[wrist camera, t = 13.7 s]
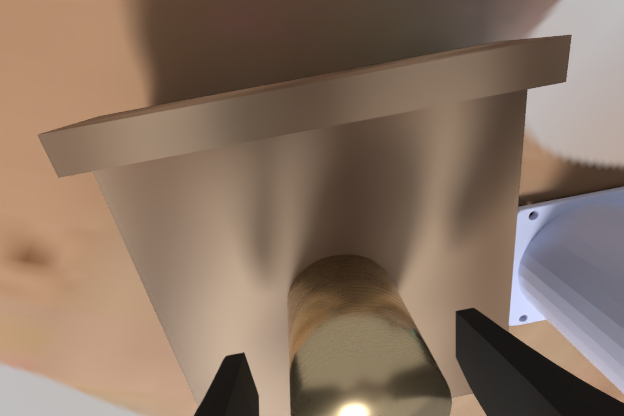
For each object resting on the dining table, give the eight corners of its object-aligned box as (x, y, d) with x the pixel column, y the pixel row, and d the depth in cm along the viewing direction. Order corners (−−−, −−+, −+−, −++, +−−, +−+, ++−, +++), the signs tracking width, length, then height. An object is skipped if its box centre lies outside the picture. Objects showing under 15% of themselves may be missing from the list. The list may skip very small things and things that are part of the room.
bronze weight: (400, 252, 13) (464, 348, 9) (389, 341, 15) (439, 463, 10) (286, 256, 13) (289, 358, 8) (288, 347, 15) (291, 476, 10)
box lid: (497, 41, 12) (571, 34, 9) (483, 358, 18) (524, 418, 15) (99, 116, 12) (37, 134, 9) (220, 410, 18) (208, 481, 15)
